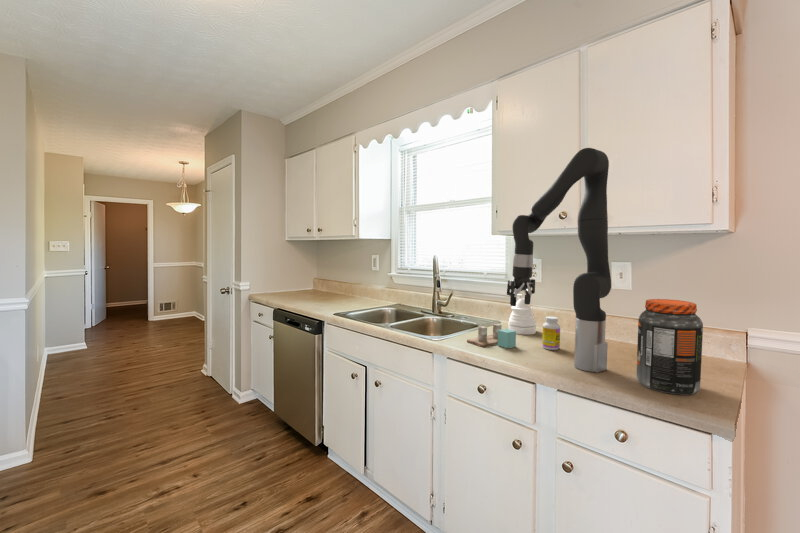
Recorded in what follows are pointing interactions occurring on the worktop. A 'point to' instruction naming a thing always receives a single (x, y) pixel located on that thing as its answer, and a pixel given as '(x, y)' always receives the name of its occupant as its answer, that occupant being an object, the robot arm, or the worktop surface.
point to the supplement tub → (670, 346)
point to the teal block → (506, 338)
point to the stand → (483, 338)
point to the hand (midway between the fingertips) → (520, 305)
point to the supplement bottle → (551, 334)
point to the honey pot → (522, 318)
